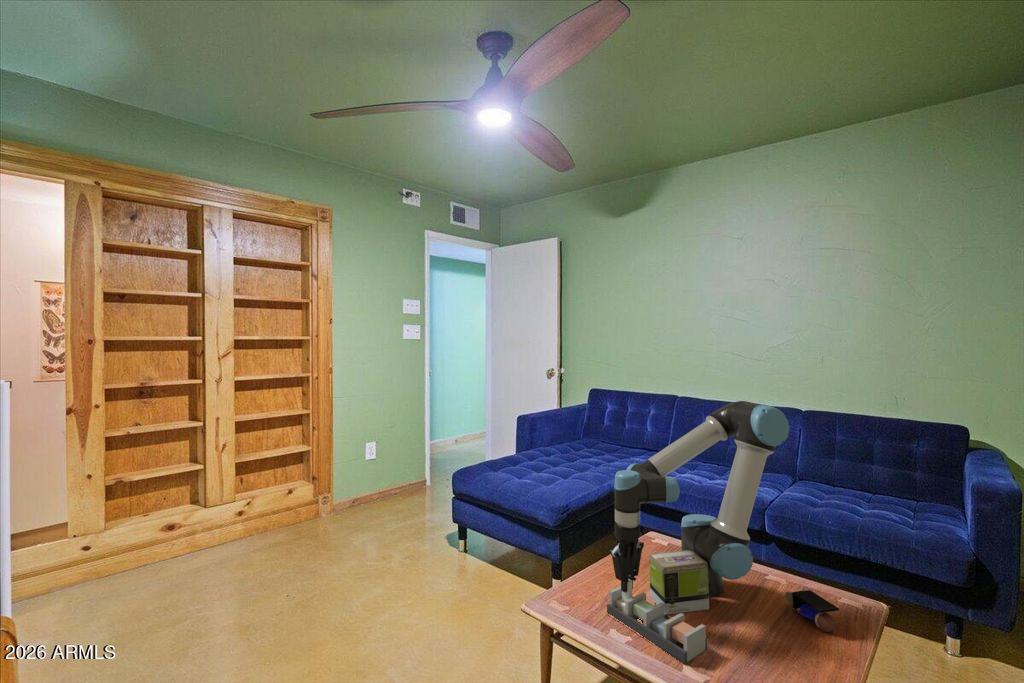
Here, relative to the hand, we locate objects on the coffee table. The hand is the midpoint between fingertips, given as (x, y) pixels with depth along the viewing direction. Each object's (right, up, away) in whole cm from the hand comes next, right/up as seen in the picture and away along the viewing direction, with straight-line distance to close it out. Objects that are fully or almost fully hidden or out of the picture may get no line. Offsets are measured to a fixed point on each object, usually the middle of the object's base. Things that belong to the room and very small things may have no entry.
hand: (627, 601), depth 143 cm
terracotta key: (+11, -1, -16) cm, 20 cm away
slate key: (+8, -3, -11) cm, 14 cm away
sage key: (+4, -1, -5) cm, 7 cm away
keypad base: (+6, -4, -8) cm, 11 cm away
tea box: (+18, -4, +6) cm, 19 cm away
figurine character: (+54, -4, -2) cm, 54 cm away
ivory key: (0, -3, 0) cm, 3 cm away
